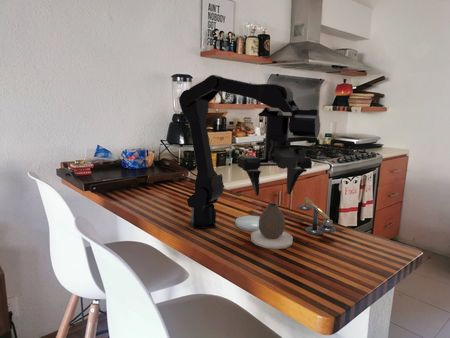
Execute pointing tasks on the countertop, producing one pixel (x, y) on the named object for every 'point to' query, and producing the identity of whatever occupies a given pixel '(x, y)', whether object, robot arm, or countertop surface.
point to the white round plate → (248, 223)
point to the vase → (271, 222)
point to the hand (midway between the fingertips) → (273, 194)
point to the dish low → (272, 240)
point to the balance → (326, 222)
